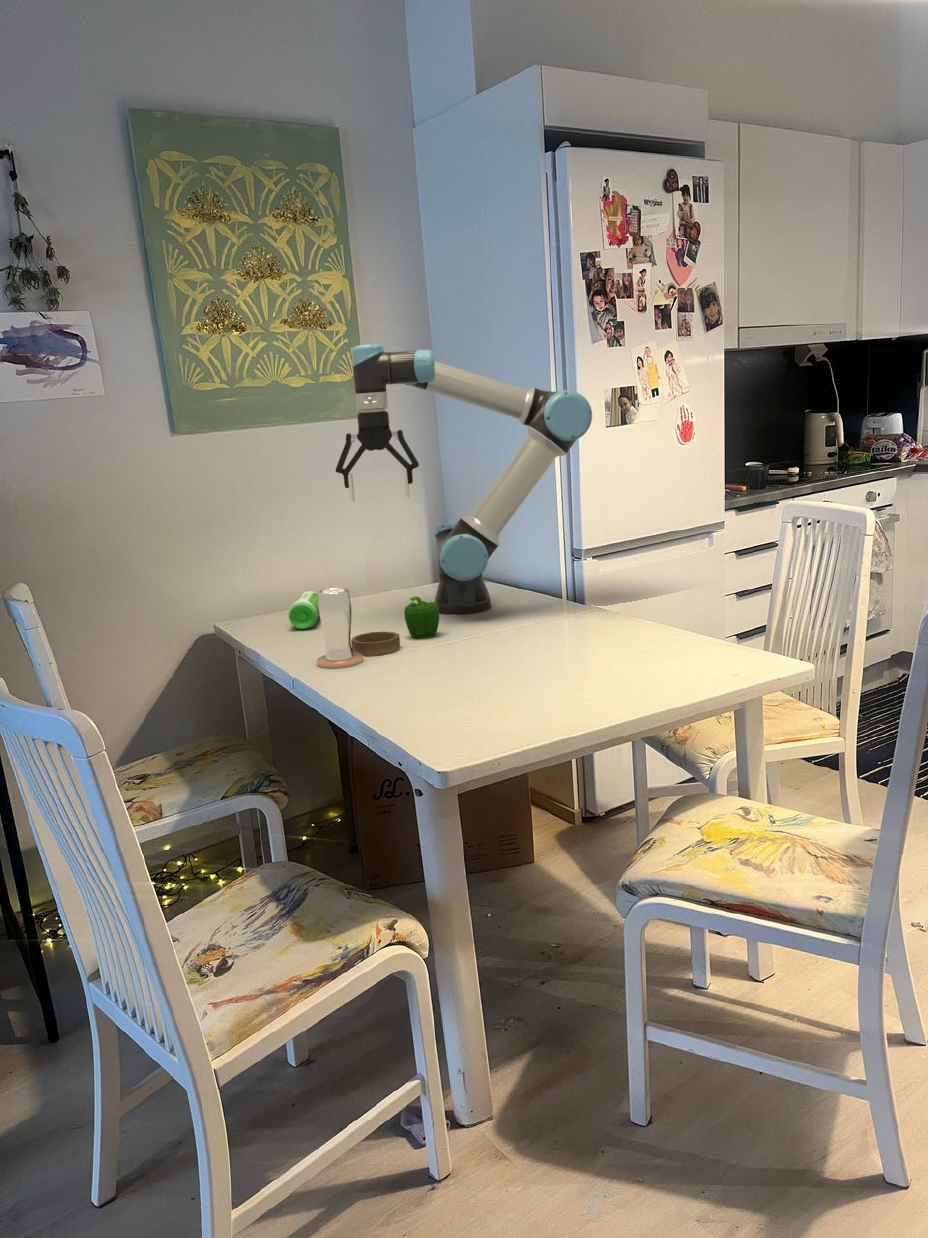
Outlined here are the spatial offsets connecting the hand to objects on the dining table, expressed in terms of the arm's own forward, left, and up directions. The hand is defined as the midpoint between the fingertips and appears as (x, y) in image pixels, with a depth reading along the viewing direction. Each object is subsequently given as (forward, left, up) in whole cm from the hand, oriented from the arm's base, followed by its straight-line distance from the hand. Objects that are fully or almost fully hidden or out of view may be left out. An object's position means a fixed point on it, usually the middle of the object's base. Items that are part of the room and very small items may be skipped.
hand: (380, 499), depth 235 cm
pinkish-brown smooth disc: (+8, +34, -32) cm, 47 cm away
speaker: (+23, -8, -32) cm, 40 cm away
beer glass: (+8, +34, -31) cm, 47 cm away
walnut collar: (+1, +25, -32) cm, 40 cm away
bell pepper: (-9, +14, -32) cm, 36 cm away
